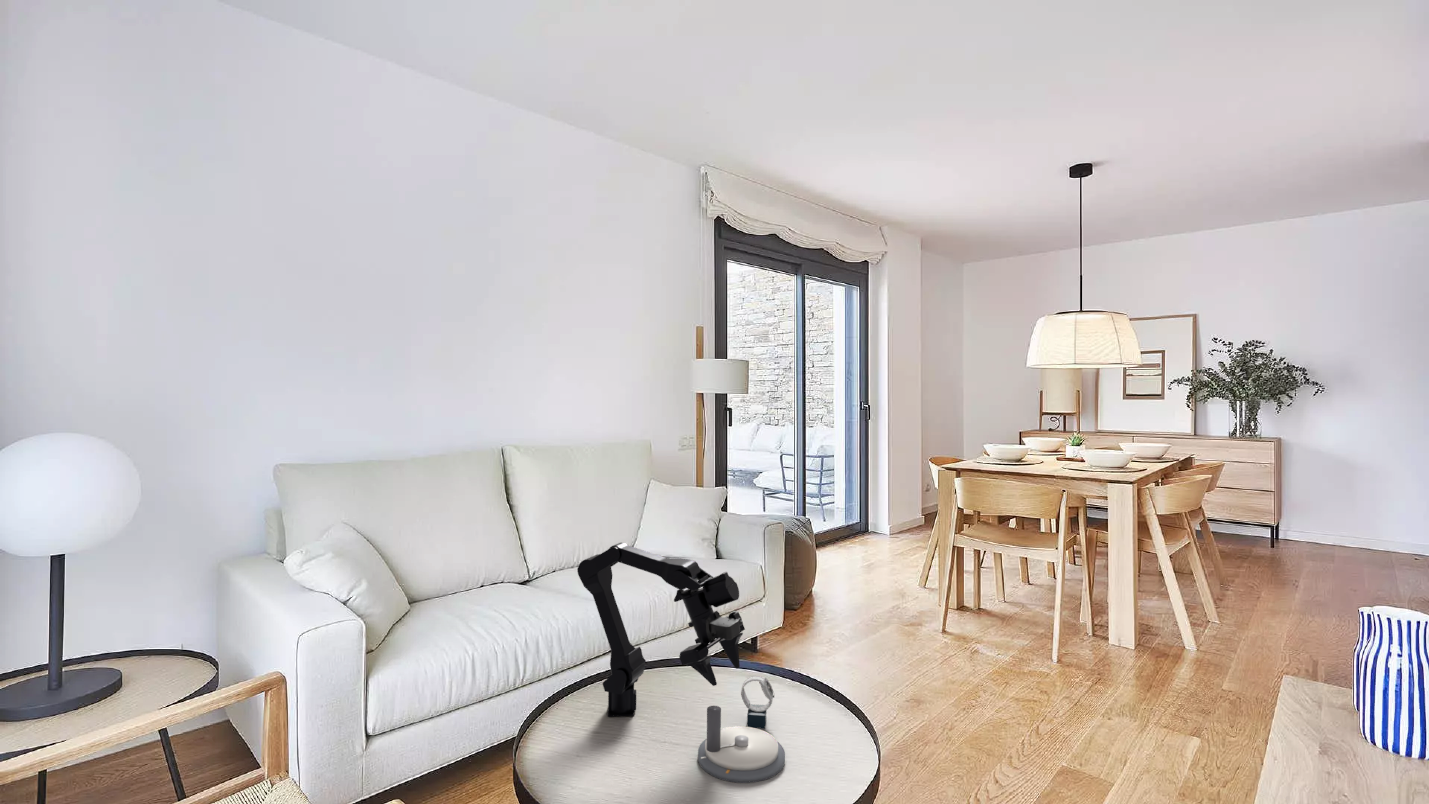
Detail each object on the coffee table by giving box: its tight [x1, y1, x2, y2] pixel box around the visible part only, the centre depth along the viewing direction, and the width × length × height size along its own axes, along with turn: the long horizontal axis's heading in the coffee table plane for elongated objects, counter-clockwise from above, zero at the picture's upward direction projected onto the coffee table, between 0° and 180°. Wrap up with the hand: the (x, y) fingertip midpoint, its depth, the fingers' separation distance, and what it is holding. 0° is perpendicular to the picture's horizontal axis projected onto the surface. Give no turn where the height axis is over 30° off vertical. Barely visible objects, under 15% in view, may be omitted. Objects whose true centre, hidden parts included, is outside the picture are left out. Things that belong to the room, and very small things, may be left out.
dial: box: [705, 705, 779, 771], centre depth 160 cm, size 16×16×10 cm
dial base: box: [697, 738, 786, 784], centre depth 161 cm, size 19×19×2 cm
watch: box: [740, 675, 775, 729], centre depth 177 cm, size 6×8×11 cm
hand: (726, 676), depth 171 cm, fingers open, 9 cm apart
